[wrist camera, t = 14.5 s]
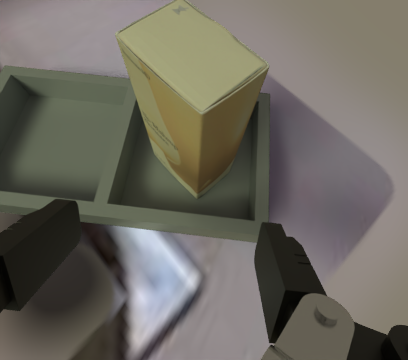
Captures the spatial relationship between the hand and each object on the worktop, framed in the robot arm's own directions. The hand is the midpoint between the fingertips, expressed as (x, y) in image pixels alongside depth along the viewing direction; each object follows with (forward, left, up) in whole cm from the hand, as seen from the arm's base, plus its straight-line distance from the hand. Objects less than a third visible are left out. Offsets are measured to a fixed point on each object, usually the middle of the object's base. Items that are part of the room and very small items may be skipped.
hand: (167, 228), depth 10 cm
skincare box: (0, +8, -10) cm, 12 cm away
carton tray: (-6, +8, -10) cm, 14 cm away
